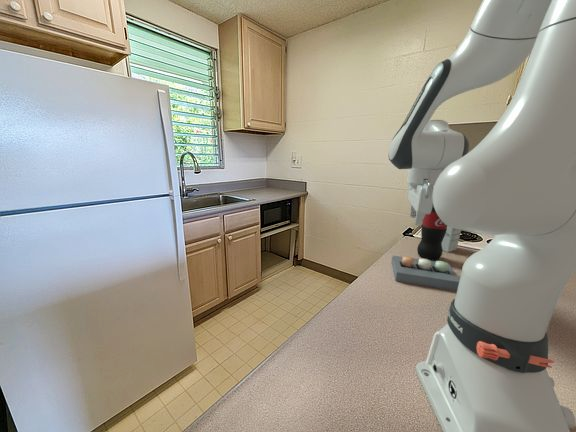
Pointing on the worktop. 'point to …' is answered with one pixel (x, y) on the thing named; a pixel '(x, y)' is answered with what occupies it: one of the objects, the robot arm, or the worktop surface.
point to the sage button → (441, 266)
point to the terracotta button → (407, 261)
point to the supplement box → (450, 239)
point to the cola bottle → (431, 236)
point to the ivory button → (424, 263)
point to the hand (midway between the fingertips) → (415, 221)
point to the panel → (425, 275)
